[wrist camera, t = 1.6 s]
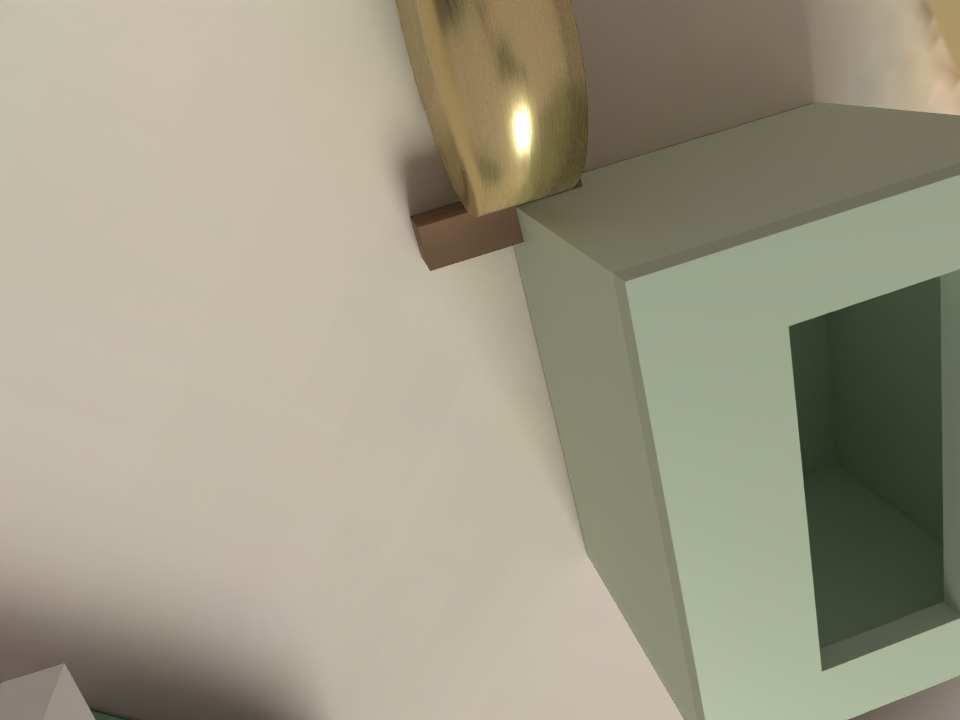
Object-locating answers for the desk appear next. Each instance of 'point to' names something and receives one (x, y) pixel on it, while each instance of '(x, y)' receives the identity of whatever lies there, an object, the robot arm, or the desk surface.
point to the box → (104, 716)
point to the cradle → (465, 233)
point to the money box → (766, 404)
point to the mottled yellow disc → (501, 95)
